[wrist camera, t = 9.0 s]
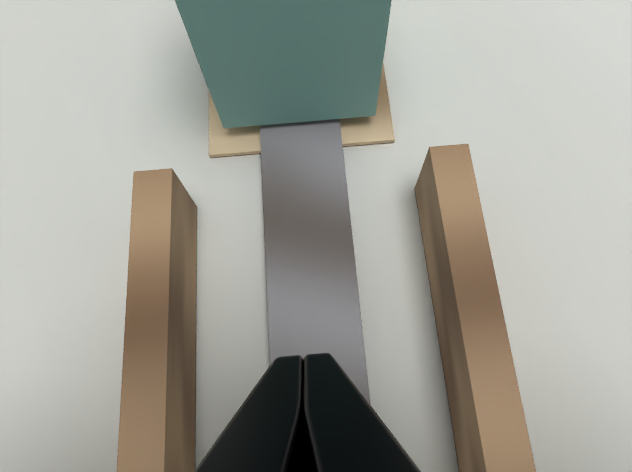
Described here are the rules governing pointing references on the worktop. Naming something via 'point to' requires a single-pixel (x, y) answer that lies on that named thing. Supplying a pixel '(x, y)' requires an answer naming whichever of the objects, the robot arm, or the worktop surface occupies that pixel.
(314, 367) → the robot arm
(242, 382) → the worktop surface
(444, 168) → the channel
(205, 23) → the block
